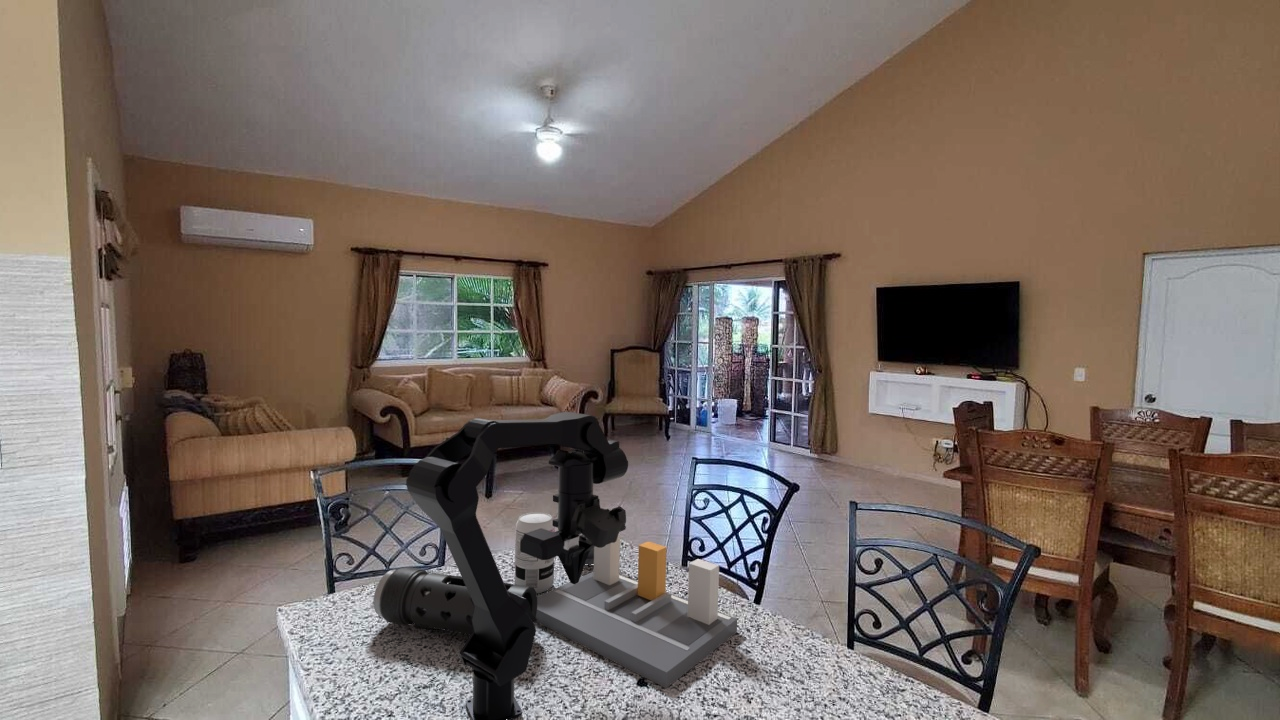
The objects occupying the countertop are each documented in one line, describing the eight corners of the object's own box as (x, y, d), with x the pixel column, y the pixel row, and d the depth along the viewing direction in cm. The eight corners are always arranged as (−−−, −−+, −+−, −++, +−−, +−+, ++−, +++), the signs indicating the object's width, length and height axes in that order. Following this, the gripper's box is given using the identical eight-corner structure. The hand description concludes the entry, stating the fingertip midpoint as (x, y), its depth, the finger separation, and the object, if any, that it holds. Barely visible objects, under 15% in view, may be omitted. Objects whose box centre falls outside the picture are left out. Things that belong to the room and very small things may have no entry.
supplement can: (510, 582, 121) (511, 514, 121) (547, 576, 125) (548, 510, 124) (519, 598, 114) (520, 525, 114) (558, 591, 118) (559, 521, 117)
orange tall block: (656, 602, 108) (657, 551, 107) (637, 595, 111) (638, 545, 110) (665, 597, 110) (666, 547, 110) (646, 590, 113) (648, 541, 113)
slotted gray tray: (666, 688, 86) (668, 608, 85) (523, 615, 107) (524, 551, 107) (736, 632, 103) (738, 565, 102) (601, 578, 124) (602, 523, 124)
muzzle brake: (513, 661, 92) (514, 599, 92) (369, 635, 99) (370, 577, 99) (537, 632, 101) (538, 576, 101) (404, 610, 108) (405, 557, 108)
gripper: (568, 513, 79) (567, 621, 80) (649, 487, 94) (647, 578, 94) (518, 497, 86) (517, 597, 87) (600, 476, 101) (599, 561, 101)
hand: (574, 583), depth 92 cm, fingers closed
